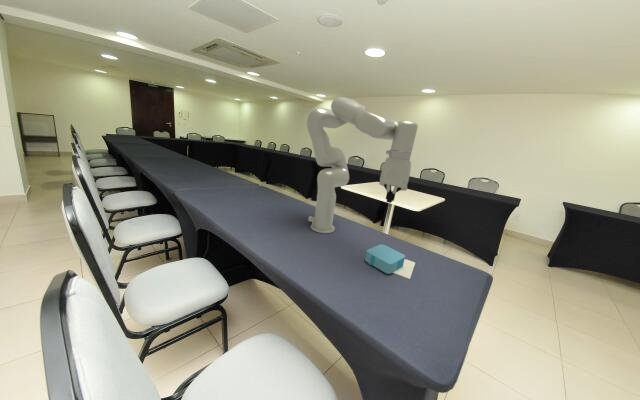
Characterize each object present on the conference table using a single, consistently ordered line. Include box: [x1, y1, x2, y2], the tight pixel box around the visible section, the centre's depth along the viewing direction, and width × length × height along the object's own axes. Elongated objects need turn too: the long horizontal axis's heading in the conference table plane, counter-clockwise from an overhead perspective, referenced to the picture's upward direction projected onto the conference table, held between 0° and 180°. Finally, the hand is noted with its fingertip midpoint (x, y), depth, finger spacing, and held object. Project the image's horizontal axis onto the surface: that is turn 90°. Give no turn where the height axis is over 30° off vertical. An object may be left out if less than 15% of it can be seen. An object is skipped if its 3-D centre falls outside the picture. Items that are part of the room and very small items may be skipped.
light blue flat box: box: [364, 244, 406, 275], centre depth 97 cm, size 12×4×12 cm
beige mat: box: [369, 258, 416, 280], centre depth 98 cm, size 16×14×1 cm
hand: (389, 201), depth 94 cm, fingers closed
